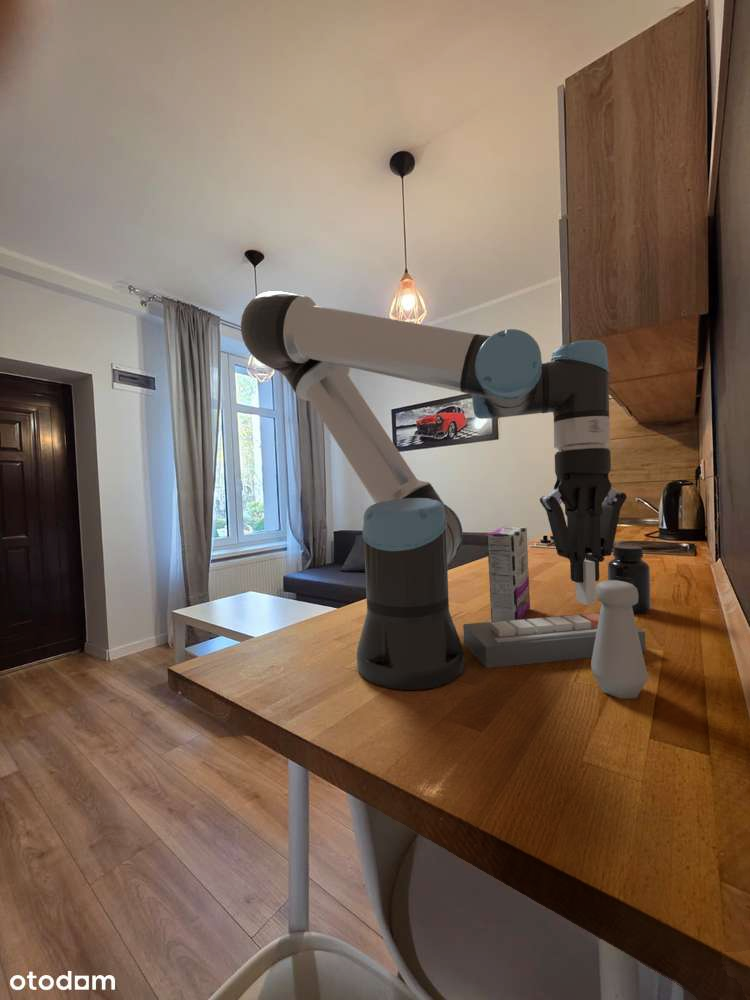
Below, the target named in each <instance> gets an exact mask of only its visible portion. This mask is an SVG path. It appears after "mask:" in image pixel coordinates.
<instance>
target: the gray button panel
mask: <svg viewBox="0 0 750 1000" xmlns="http://www.w3.org/2000/svg"><path fill="white" fill-rule="evenodd" d="M599 615H600V611H598V612H588V613H587V612H586V613H577V614H567V615H565V614H564V615H556V616H555V615H554V616H543V617H532V618H531V617H530V618H522V619H518V620H506V621H495V622H492V621H487V622H475V623H473V622H472V623H463V625H462V626H463V627H462V628H463V643H464V645H466V647H467V648H468V649H469V650H470V651H471V653H472V654H473V655H474V656H475V657H476V658H477V659H478V660H479V662H481V664H482V665H483V666H484V667H485V668H486V669H490V668H491V669H493V668H502V667H513V666H520V665H522V666H523V665H531V664H533V665H534V664H541V663H552V662H560V661H570V660H571V661H572V660H580V659H581V660H582V659H590V658H591V659H592V655H593V649H594V644H595V638H596V632H597V626H598V621H599ZM637 631H638V636H639V640H640V645H641V649H642V653H646V631H645V630H642V629H640V628H638V627H637Z"/></svg>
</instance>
